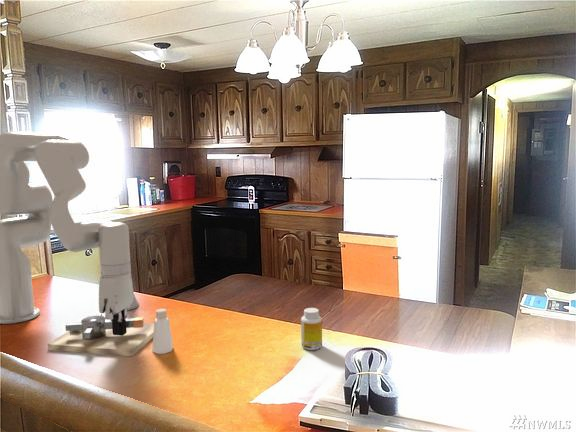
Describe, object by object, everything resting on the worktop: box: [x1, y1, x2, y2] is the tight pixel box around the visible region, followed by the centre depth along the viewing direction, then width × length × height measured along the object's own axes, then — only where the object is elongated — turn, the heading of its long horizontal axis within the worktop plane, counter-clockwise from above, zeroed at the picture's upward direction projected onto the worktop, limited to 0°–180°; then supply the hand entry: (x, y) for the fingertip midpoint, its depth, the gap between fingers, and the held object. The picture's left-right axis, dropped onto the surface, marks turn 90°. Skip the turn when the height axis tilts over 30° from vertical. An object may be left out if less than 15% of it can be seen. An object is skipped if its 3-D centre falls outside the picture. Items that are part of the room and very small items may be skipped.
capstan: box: [65, 313, 145, 339], centre depth 124 cm, size 20×14×4 cm
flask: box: [127, 292, 140, 311], centre depth 150 cm, size 7×7×10 cm
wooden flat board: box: [47, 321, 154, 357], centre depth 125 cm, size 24×18×3 cm
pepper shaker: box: [152, 308, 174, 355], centre depth 118 cm, size 5×5×11 cm
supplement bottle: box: [300, 307, 323, 351], centre depth 120 cm, size 6×6×10 cm
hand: (119, 334), depth 122 cm, fingers closed
